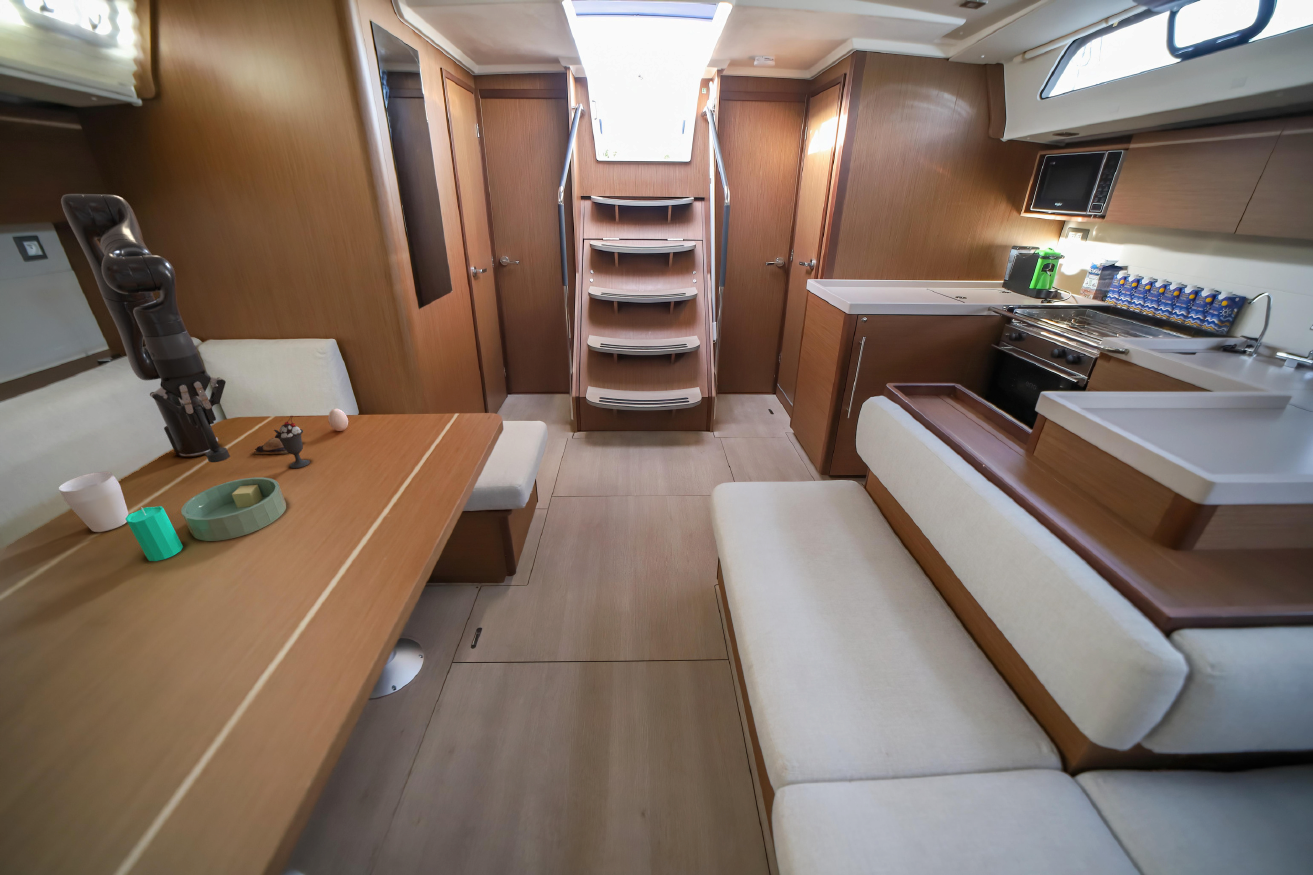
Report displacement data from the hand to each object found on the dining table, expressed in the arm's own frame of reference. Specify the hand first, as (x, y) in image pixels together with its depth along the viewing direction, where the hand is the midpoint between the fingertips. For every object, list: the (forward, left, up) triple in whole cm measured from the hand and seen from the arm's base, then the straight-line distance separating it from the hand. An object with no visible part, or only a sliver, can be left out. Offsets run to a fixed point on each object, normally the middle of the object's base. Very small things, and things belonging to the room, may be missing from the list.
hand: (204, 424), depth 116 cm
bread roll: (-7, +34, -24) cm, 42 cm away
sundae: (+4, +22, -24) cm, 33 cm away
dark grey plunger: (0, 0, -9) cm, 9 cm away
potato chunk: (+2, +1, -23) cm, 23 cm away
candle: (-7, -17, -24) cm, 29 cm away
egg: (+7, +45, -24) cm, 52 cm away
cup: (-27, -3, -24) cm, 36 cm away
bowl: (+2, -5, -23) cm, 24 cm away
